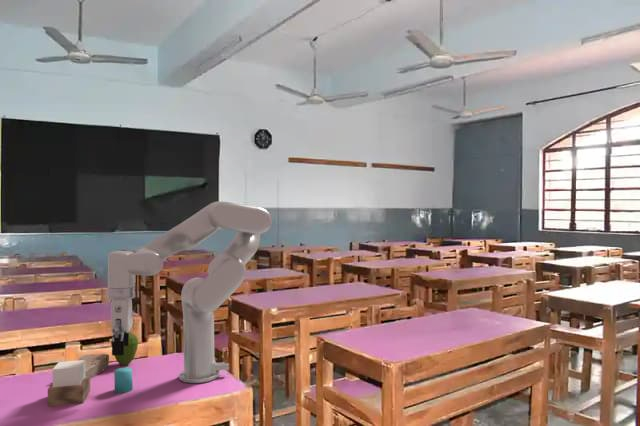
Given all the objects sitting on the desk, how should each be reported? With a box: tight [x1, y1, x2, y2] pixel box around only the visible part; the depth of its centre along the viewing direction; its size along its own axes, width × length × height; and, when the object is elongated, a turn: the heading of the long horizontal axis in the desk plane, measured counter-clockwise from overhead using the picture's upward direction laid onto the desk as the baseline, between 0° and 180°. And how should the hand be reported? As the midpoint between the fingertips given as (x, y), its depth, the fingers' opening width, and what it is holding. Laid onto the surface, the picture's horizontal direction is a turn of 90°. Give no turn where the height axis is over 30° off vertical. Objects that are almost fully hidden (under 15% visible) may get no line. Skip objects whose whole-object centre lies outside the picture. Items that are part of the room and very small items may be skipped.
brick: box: [77, 353, 110, 380], centre depth 165 cm, size 17×8×5 cm, turn 177°
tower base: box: [47, 376, 91, 407], centre depth 144 cm, size 9×9×5 cm
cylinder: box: [113, 366, 134, 394], centre depth 150 cm, size 5×5×6 cm
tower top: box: [51, 359, 85, 387], centre depth 144 cm, size 7×7×5 cm
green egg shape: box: [110, 332, 139, 366], centre depth 174 cm, size 9×8×12 cm
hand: (120, 350), depth 150 cm, fingers open, 9 cm apart
